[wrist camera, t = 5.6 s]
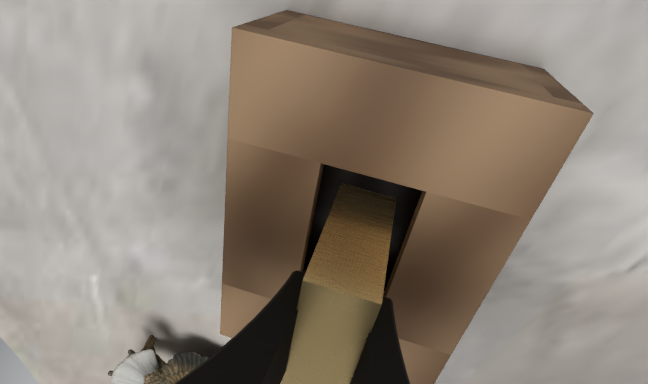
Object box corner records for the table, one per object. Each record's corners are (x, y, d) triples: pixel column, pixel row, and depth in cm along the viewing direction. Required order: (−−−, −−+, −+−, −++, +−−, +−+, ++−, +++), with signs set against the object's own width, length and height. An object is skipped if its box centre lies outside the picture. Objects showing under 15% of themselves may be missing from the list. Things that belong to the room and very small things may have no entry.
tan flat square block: (396, 198, 13) (381, 304, 9) (363, 295, 16) (340, 411, 12) (341, 183, 14) (302, 280, 9) (318, 281, 16) (279, 391, 12)
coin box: (544, 68, 14) (593, 113, 10) (424, 316, 22) (424, 400, 17) (286, 10, 15) (232, 27, 11) (258, 265, 23) (220, 333, 18)
